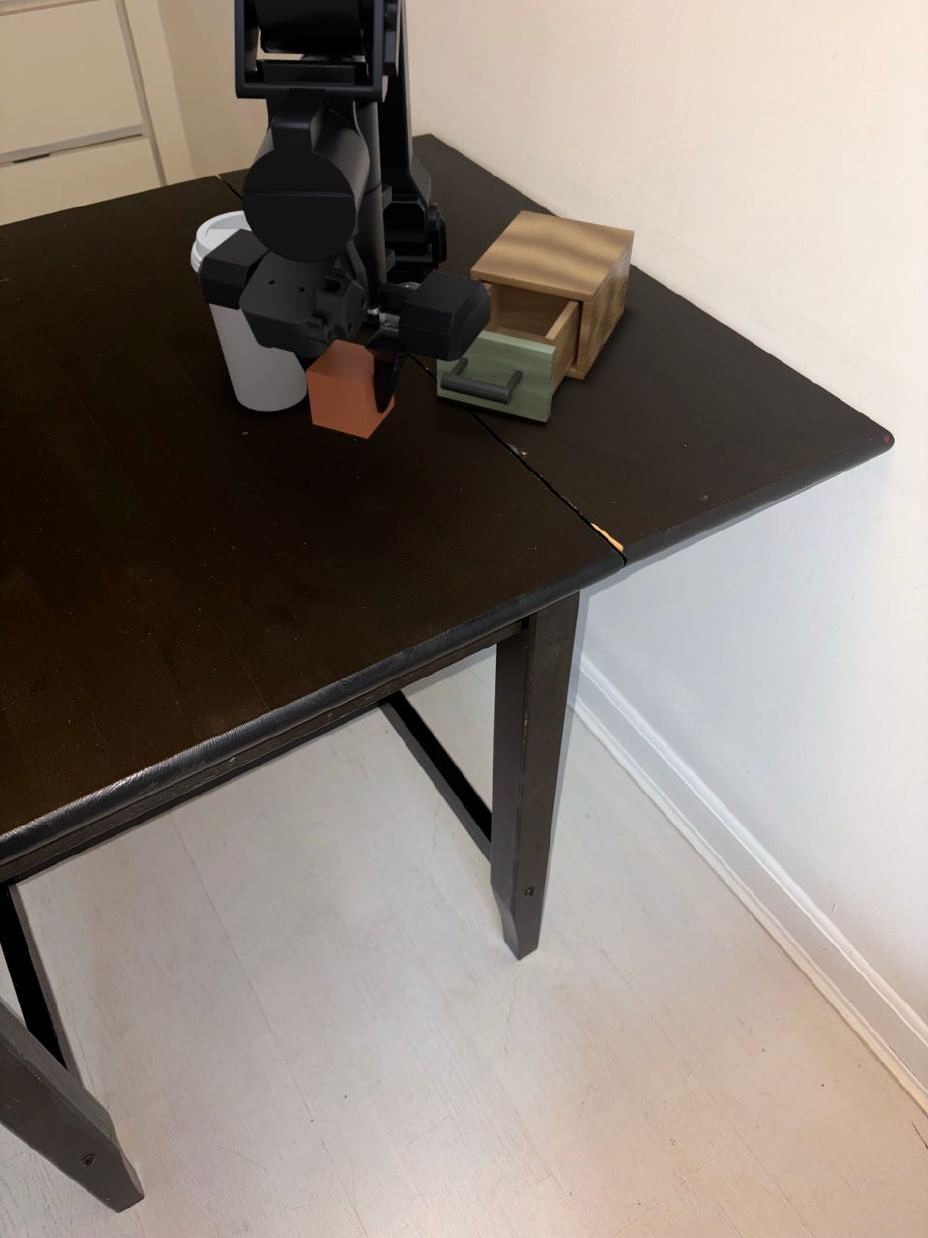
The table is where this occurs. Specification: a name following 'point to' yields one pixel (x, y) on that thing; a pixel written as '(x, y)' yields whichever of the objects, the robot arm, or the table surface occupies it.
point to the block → (344, 390)
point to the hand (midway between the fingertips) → (353, 402)
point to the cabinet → (565, 271)
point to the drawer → (516, 353)
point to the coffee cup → (249, 337)
